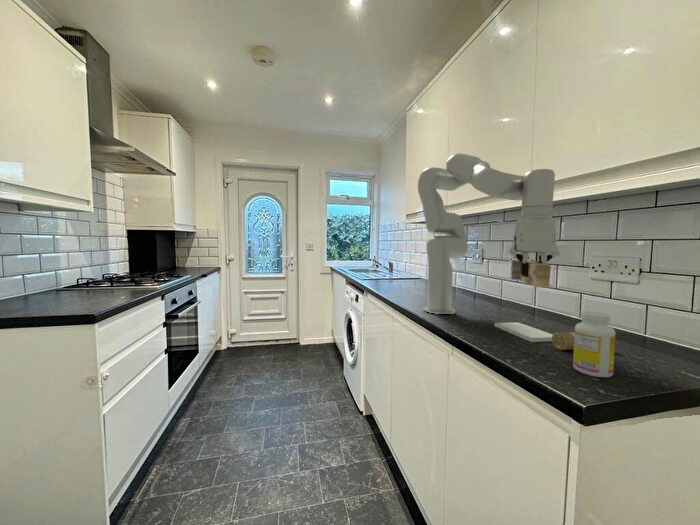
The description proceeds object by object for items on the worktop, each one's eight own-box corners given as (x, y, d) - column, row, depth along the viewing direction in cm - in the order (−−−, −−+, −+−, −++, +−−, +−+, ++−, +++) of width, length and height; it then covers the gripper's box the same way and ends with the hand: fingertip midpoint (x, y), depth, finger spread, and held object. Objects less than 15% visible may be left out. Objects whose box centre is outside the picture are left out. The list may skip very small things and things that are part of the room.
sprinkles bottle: (557, 353, 74) (600, 351, 76) (569, 344, 71) (613, 342, 73) (547, 337, 77) (588, 336, 80) (557, 329, 74) (600, 327, 76)
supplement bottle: (599, 367, 64) (603, 311, 63) (621, 380, 57) (625, 318, 56) (566, 364, 65) (569, 309, 64) (583, 376, 59) (587, 316, 58)
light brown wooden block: (557, 288, 74) (559, 265, 74) (527, 286, 76) (529, 264, 76) (534, 279, 89) (536, 261, 89) (510, 278, 91) (511, 260, 90)
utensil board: (494, 326, 96) (494, 323, 96) (517, 325, 97) (517, 322, 97) (531, 342, 80) (532, 338, 80) (559, 340, 82) (559, 336, 82)
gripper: (562, 215, 83) (557, 277, 85) (501, 215, 87) (497, 274, 88) (575, 212, 76) (570, 280, 77) (509, 212, 80) (504, 276, 81)
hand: (531, 276), depth 83 cm, fingers closed on light brown wooden block, 3 cm apart
